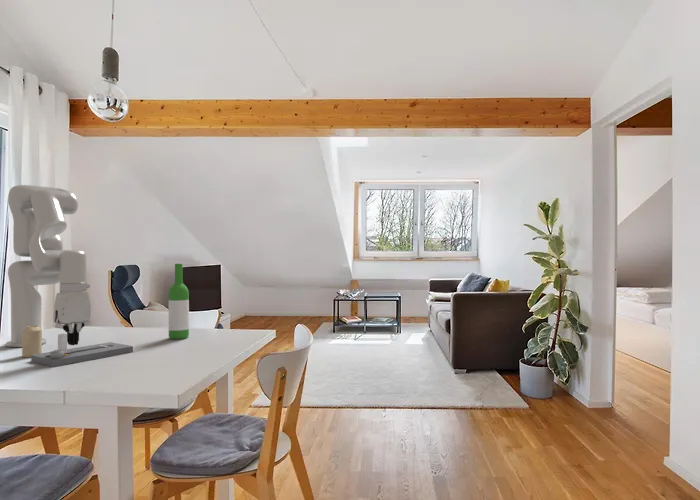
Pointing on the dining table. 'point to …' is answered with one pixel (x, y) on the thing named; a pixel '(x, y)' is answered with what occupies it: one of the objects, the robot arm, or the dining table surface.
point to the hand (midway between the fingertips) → (73, 344)
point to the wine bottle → (178, 307)
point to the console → (81, 354)
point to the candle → (31, 341)
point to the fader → (63, 343)
